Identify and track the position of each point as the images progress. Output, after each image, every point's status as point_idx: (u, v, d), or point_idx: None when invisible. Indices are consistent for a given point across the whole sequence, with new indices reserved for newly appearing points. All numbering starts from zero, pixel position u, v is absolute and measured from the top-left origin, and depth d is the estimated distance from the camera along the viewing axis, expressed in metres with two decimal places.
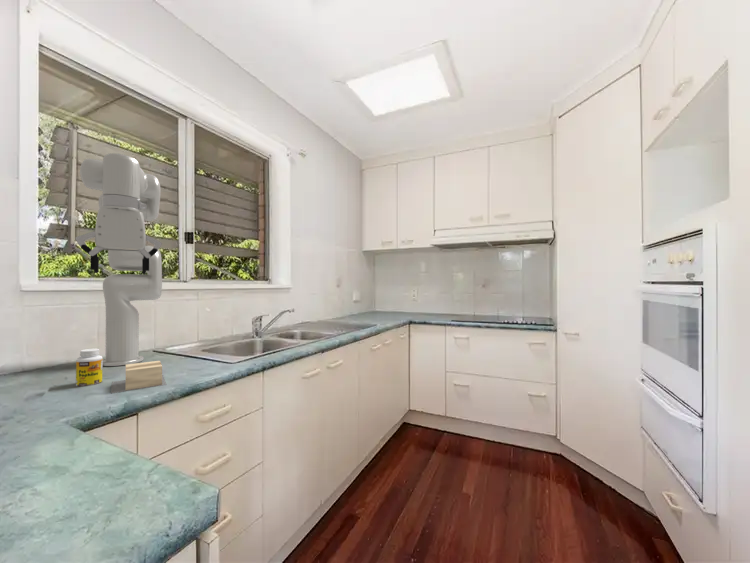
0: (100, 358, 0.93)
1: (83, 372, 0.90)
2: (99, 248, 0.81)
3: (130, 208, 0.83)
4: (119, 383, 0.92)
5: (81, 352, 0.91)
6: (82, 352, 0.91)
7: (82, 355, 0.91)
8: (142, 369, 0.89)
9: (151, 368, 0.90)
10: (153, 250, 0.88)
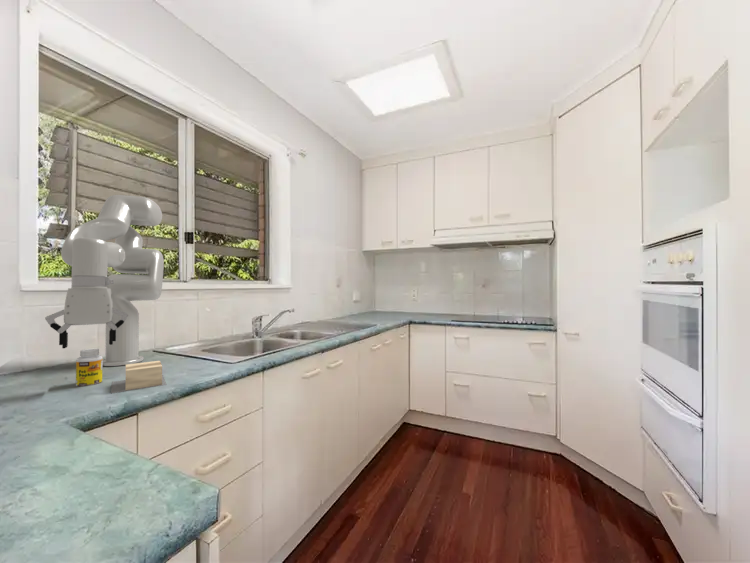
0: (100, 358, 0.93)
1: (83, 372, 0.90)
2: (67, 325, 0.88)
3: (97, 287, 0.91)
4: (119, 383, 0.92)
5: (81, 352, 0.91)
6: (82, 352, 0.91)
7: (82, 355, 0.91)
8: (142, 369, 0.89)
9: (151, 368, 0.90)
10: (120, 322, 0.95)
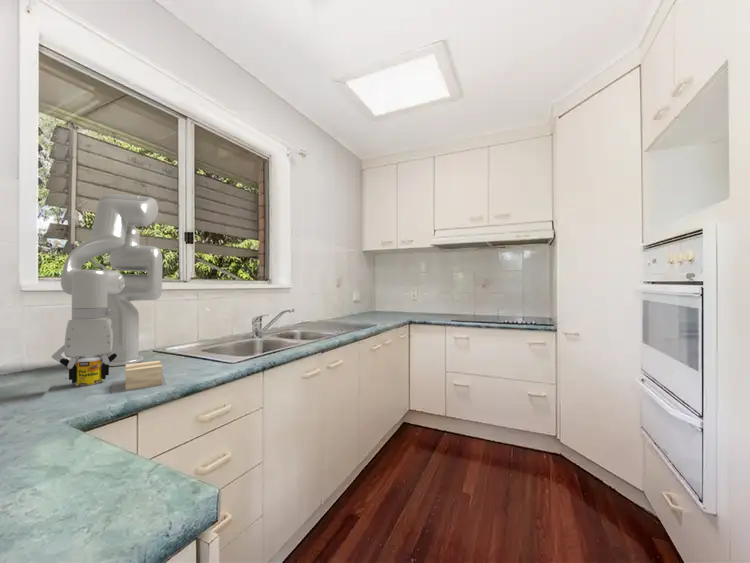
0: (100, 358, 0.93)
1: (83, 372, 0.90)
2: (74, 359, 0.90)
3: (97, 319, 0.91)
4: (119, 383, 0.92)
5: None
6: None
7: None
8: (142, 369, 0.89)
9: (151, 368, 0.90)
10: (112, 356, 0.95)
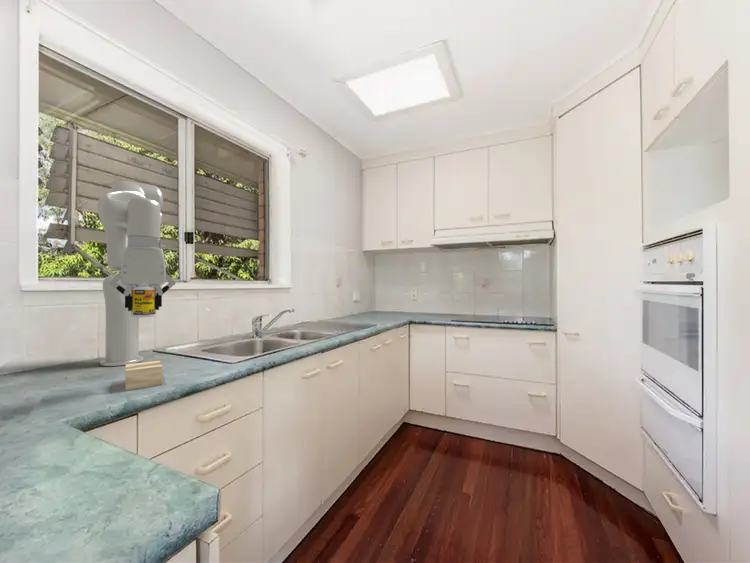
0: (154, 288, 0.93)
1: (138, 300, 0.90)
2: (130, 287, 0.90)
3: (152, 247, 0.91)
4: (119, 383, 0.92)
5: None
6: None
7: None
8: (142, 369, 0.89)
9: (151, 368, 0.90)
10: (165, 287, 0.95)
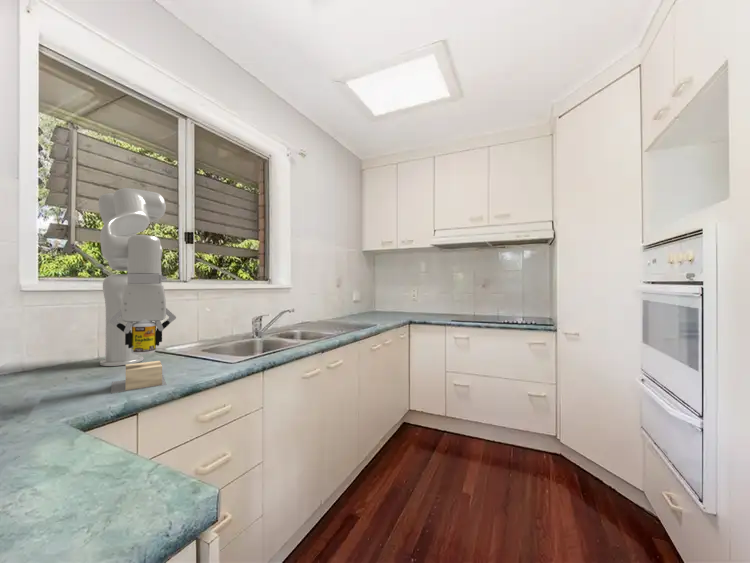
0: (154, 324, 0.93)
1: (139, 337, 0.90)
2: (130, 324, 0.90)
3: (152, 284, 0.91)
4: (119, 383, 0.92)
5: None
6: None
7: None
8: (142, 369, 0.89)
9: (151, 368, 0.90)
10: (166, 323, 0.95)
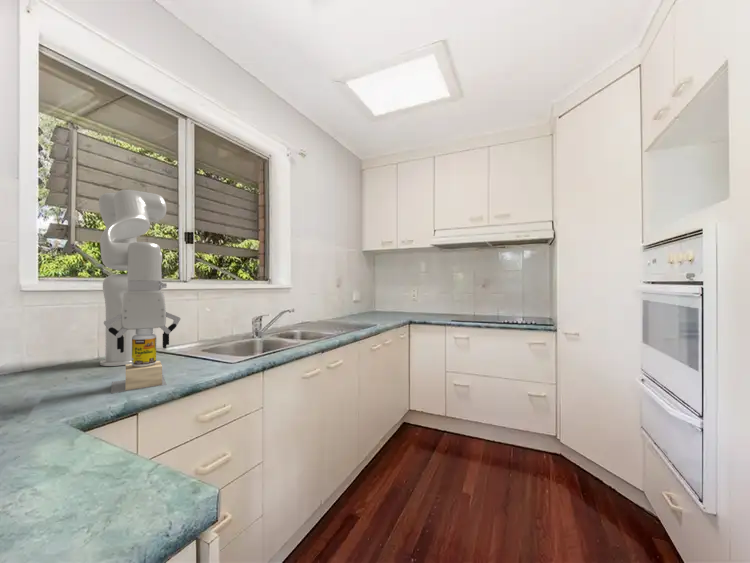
0: (154, 336, 0.93)
1: (139, 350, 0.90)
2: (125, 330, 0.89)
3: (152, 291, 0.91)
4: (119, 383, 0.92)
5: (137, 330, 0.91)
6: (138, 330, 0.91)
7: (138, 333, 0.91)
8: (142, 369, 0.89)
9: (151, 368, 0.90)
10: (172, 326, 0.96)
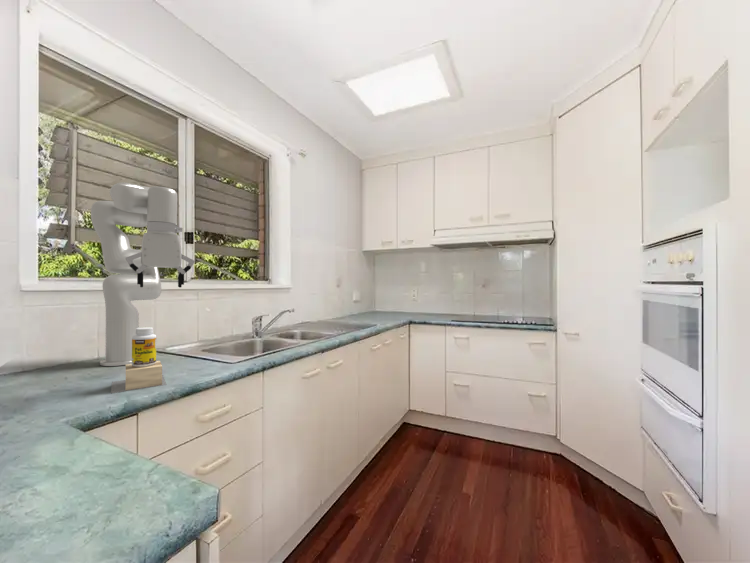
0: (154, 336, 0.93)
1: (139, 350, 0.90)
2: (144, 266, 0.97)
3: (169, 232, 0.98)
4: (119, 383, 0.92)
5: (137, 330, 0.91)
6: (138, 330, 0.91)
7: (138, 333, 0.91)
8: (142, 369, 0.89)
9: (151, 368, 0.90)
10: (187, 267, 1.03)
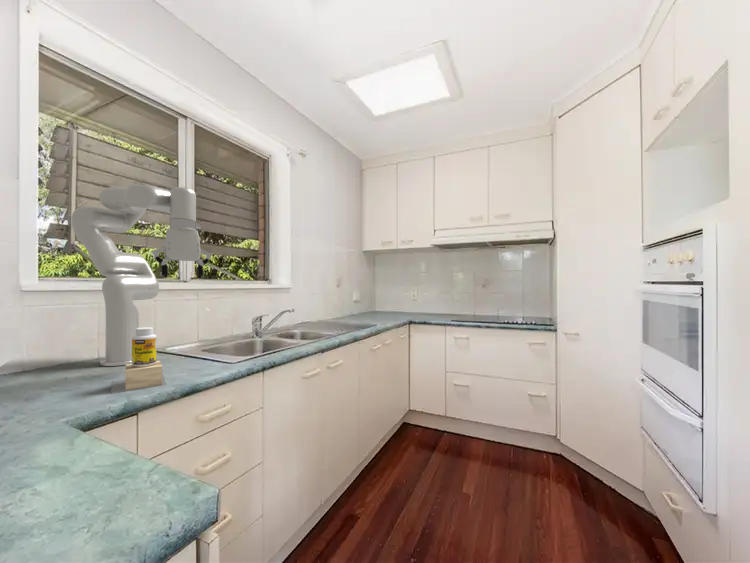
0: (154, 336, 0.93)
1: (139, 350, 0.90)
2: (168, 259, 1.08)
3: (190, 228, 1.10)
4: (119, 383, 0.92)
5: (137, 330, 0.91)
6: (138, 330, 0.91)
7: (138, 333, 0.91)
8: (142, 369, 0.89)
9: (151, 368, 0.90)
10: (205, 260, 1.14)
